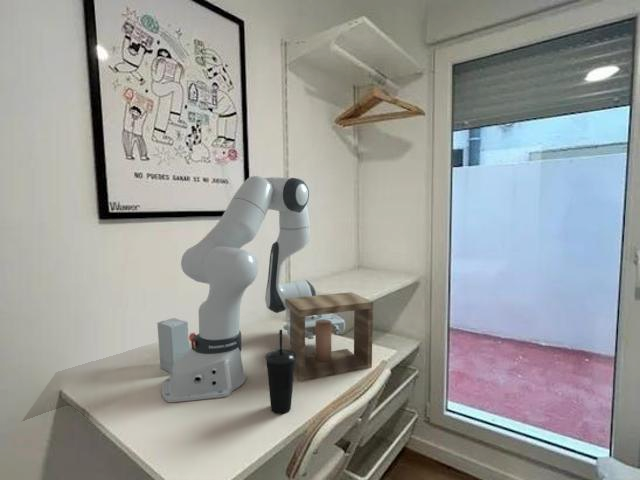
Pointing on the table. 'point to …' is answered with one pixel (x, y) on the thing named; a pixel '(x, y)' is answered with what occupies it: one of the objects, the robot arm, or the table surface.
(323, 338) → the peach tapered cylinder
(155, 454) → the table surface
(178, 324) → the skincare box
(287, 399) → the drinking cup
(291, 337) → the under counter shelf
